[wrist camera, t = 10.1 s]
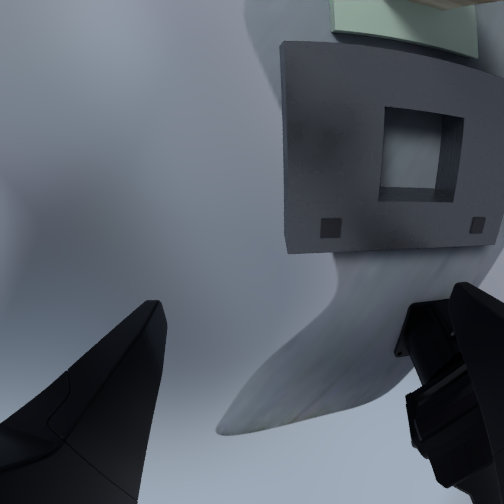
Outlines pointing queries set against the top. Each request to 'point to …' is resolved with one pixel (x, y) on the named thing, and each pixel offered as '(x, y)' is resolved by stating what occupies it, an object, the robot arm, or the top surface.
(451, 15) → the pad
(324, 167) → the plate
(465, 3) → the peg
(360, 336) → the top surface
